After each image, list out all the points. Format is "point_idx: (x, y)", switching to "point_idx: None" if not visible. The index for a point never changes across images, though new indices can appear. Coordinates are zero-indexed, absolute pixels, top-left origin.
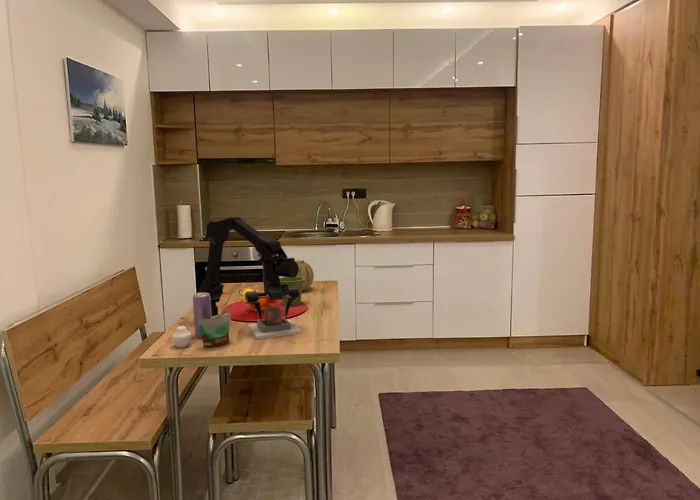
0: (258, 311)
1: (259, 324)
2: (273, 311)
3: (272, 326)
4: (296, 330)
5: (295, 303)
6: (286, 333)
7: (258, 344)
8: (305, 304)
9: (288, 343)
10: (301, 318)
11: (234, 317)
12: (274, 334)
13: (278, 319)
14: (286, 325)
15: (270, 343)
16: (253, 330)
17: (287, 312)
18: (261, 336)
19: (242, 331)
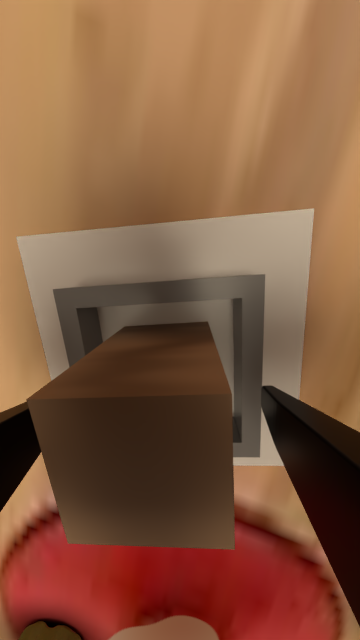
0: (356, 437)
1: (259, 382)
2: (144, 384)
3: (187, 280)
4: (45, 247)
5: (35, 636)
6: (111, 229)
7: (320, 87)
8: (6, 618)
9: (123, 29)
10: (25, 475)
11: (302, 594)
12: (187, 221)
13: (124, 345)
14: (87, 286)
15: (238, 81)
16: (293, 350)
17: (15, 407)
18: (274, 214)
19: (331, 398)
